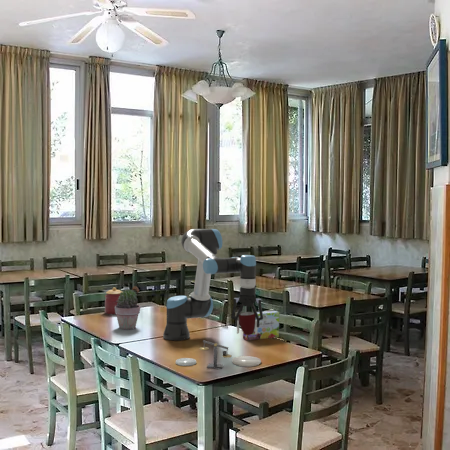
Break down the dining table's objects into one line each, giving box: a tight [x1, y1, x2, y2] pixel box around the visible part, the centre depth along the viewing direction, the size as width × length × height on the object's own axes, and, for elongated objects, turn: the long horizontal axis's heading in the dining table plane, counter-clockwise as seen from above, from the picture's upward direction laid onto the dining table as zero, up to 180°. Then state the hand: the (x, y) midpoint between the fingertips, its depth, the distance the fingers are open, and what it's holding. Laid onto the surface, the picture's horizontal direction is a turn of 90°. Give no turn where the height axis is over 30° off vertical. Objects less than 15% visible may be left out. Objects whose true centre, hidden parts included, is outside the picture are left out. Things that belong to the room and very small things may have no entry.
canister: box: [104, 287, 123, 315], centre depth 397 cm, size 13×13×18 cm
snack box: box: [242, 310, 280, 341], centre depth 331 cm, size 21×6×15 cm, turn 117°
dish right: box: [231, 355, 262, 368], centre depth 281 cm, size 14×14×1 cm
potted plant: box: [114, 285, 143, 330], centre depth 351 cm, size 18×20×25 cm
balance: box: [199, 339, 232, 370], centre depth 273 cm, size 15×5×12 cm, turn 83°
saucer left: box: [175, 357, 197, 367], centre depth 279 cm, size 10×10×1 cm
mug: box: [238, 311, 256, 335], centre depth 280 cm, size 11×8×10 cm
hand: (247, 333), depth 281 cm, fingers closed on mug, 8 cm apart
